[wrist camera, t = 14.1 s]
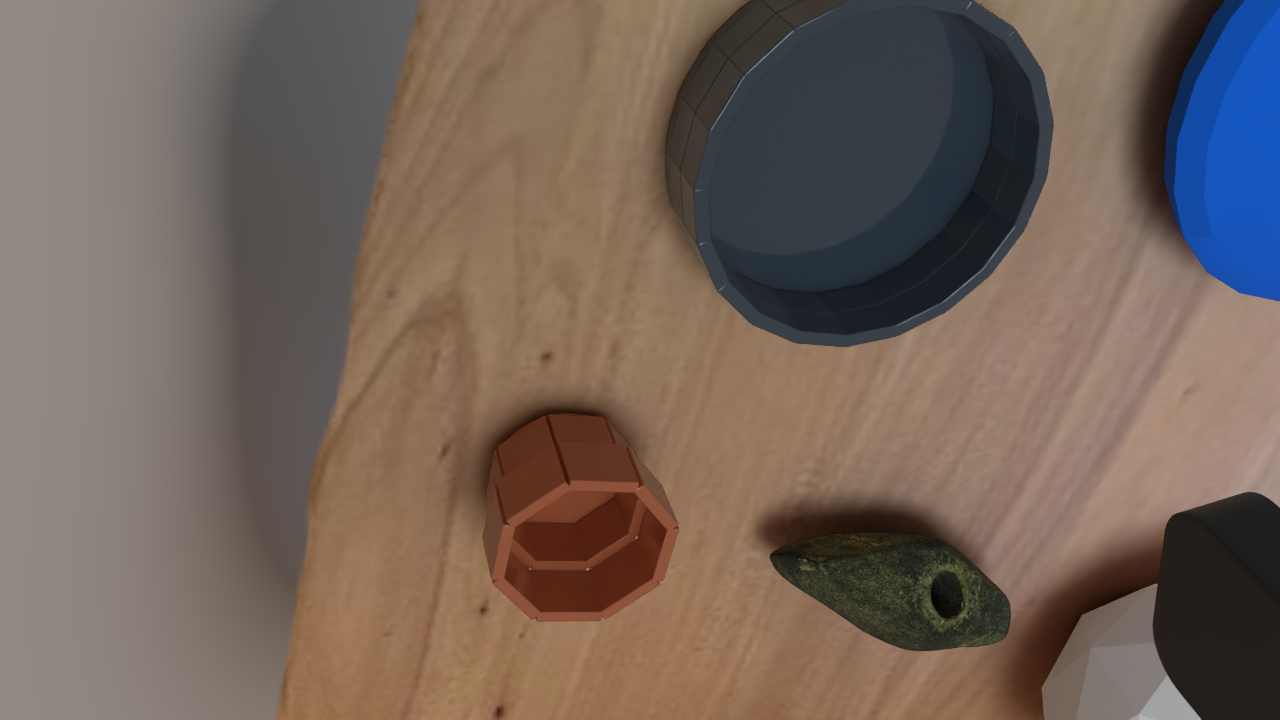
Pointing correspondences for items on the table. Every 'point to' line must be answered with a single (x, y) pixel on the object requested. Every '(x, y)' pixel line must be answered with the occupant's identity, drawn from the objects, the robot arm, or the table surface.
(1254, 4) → the blue dish
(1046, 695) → the geodesic sphere
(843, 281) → the slate bowl
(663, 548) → the terracotta bowl
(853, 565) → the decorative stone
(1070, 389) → the table surface
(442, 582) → the table surface
